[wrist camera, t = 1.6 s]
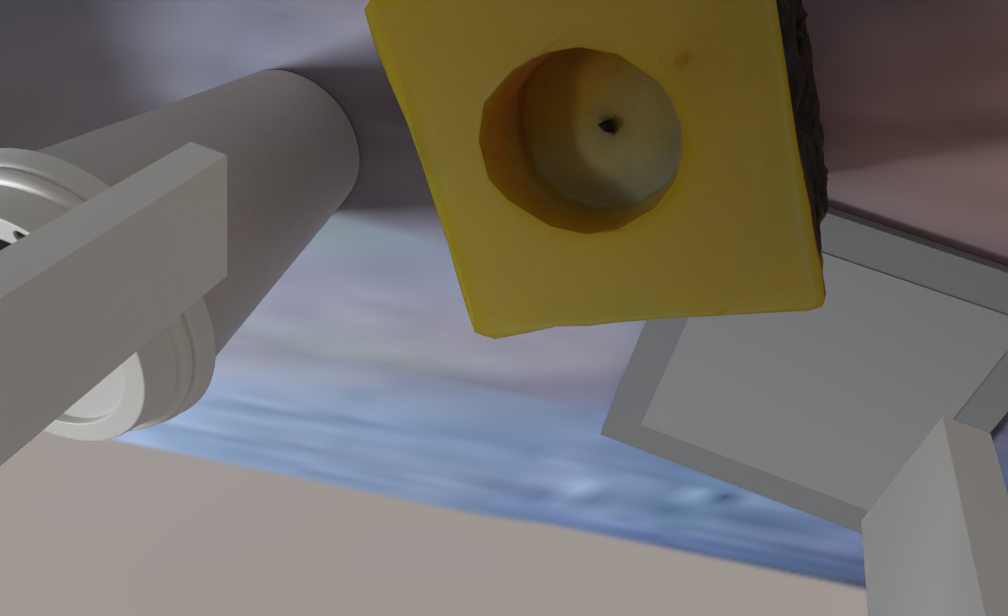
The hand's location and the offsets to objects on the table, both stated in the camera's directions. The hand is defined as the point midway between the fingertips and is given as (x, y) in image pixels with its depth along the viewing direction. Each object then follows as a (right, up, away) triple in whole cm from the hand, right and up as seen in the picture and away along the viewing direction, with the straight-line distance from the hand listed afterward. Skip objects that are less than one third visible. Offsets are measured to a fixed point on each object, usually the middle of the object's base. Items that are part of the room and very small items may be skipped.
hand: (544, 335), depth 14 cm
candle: (+5, +9, +14) cm, 17 cm away
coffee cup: (-10, +8, +20) cm, 24 cm away
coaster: (+12, -2, +18) cm, 22 cm away
